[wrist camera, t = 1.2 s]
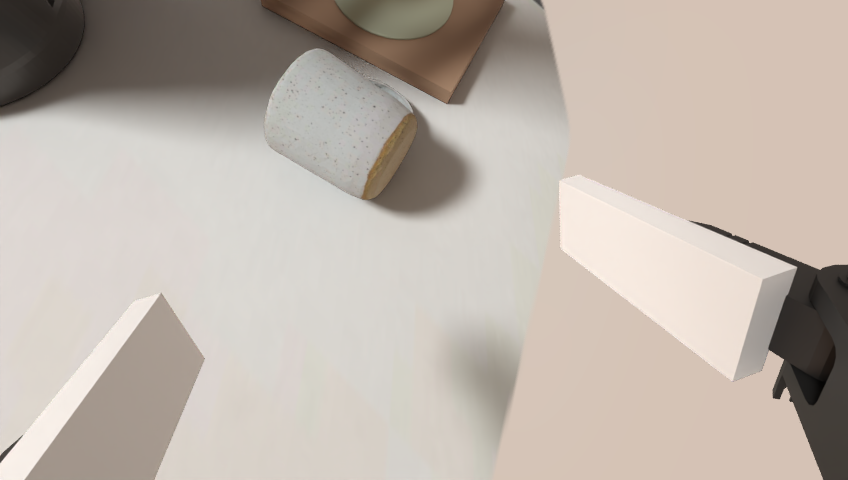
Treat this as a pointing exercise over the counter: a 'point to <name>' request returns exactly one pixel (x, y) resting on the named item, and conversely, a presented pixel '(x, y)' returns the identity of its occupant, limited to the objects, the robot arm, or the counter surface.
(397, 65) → the walnut board
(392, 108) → the speckled gray mug
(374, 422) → the counter surface
